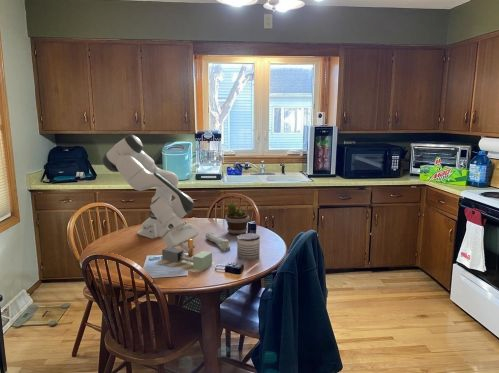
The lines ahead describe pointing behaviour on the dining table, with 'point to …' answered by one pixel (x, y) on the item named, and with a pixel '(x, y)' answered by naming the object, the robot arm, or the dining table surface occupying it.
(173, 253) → the dark grey rectangular block
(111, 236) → the dining table surface
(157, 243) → the dining table surface
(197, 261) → the socket block
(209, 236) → the grey-green long bar
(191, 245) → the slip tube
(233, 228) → the flowerpot
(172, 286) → the dining table surface
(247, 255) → the can
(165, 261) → the base board
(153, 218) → the robot arm
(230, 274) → the dining table surface
